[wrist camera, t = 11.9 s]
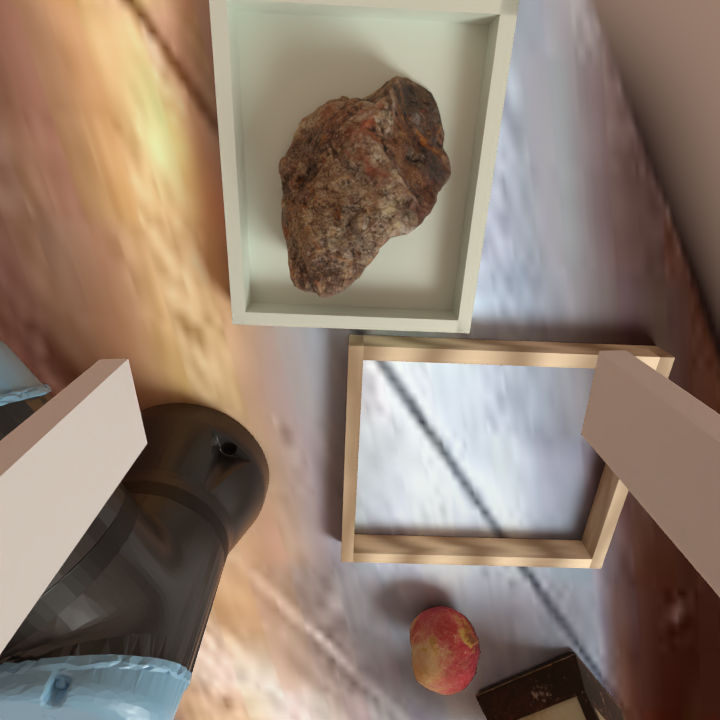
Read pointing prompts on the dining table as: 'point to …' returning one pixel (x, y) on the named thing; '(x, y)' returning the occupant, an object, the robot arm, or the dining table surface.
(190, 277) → the dining table surface
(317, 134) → the rock
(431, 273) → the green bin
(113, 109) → the dining table surface
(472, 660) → the fruit
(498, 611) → the dining table surface
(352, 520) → the pine frame
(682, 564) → the dining table surface
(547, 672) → the lantern
